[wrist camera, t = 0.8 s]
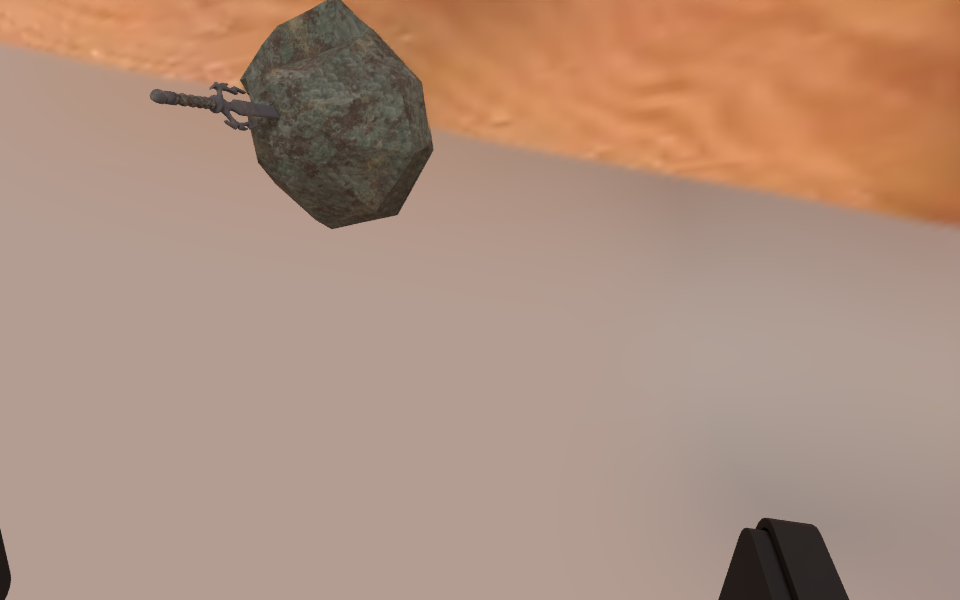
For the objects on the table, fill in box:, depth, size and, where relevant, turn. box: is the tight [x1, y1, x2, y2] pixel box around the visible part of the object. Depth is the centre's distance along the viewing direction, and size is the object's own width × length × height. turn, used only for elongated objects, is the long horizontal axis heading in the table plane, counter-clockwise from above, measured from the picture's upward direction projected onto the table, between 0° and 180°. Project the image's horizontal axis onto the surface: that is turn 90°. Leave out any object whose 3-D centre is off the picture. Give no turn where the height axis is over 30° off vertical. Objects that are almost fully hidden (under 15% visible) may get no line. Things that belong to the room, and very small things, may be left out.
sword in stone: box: [150, 0, 433, 229], centre depth 29 cm, size 10×8×12 cm
